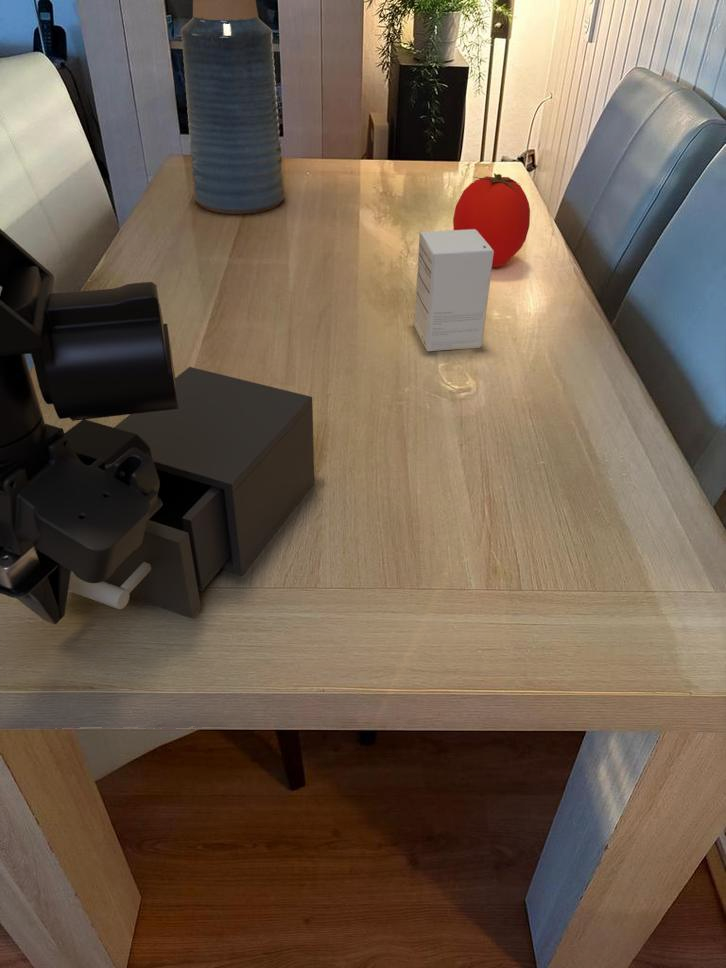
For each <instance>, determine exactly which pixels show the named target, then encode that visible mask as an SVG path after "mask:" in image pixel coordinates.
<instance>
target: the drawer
mask: <svg viewBox="0 0 726 968" xmlns="http://www.w3.org/2000/svg"><path fill="white" fill-rule="evenodd" d="M156 471H157V474H158V478H159V481H160V486H159V491H158V497H159V498H160V499H161V500H162V503H163V505H162V507H161V508H160V509H159V510H158V511H157V512H156V513H155V514H154V515H153V516H152V517H151V518H150V519H149V520H148V521H147V524H146V528H145V533H144V537H143V541H142V544H141V545H140V546H139V547H138V548H137V549H136V550H134V551H133V552H132V553H131V554H130V555H129V556H128V557H127V558H126V559H125V560H124V561H123V562H122V563H121V564H120V565H119V566H118V567H117V568H116V569H115V571H114V573H113V574H112V575H111V576H110V577H109V578H108V579H106V580H105V581H103V582H100V583H88V582H85V581H83V580H81V579H79V578H78V577H76V576H75V574H74V573H73V572H72V571H71V575H70V581H69V588H68V592H71V593H74V594H76V595H78V596H82V597H85V598H86V599H90V600H93V601H95V602H97V603H101V604H103V605H106V606H109V607H112V608H114V609H117V610H122V609H124V608H125V607H126V606H127V605H128V603H129V601H130V597H131V598H133V599H136V600H139V601H142V602H145V603H147V604H150V605H153V606H156V607H158V608H161V609H164V610H166V611H169V612H172V613H175V614H177V615H181V616H183V617H186V618H189V619H191V620H193V619H194V618H195V617H196V615H198V613H199V612H200V610H201V609H202V607H201V600H200V594H199V591H200V592H203V591H204V590H205V589H206V587H207V586H208V585H209V584H210V582H211V581H212V580H213V579H214V577H215V576H216V575H217V574H218V573H219V571H220V570H222V569H221V568H222V566H223V565H224V564H225V563H226V561H227V560H228V559H229V558H230V556H231V555H232V552H231V544H230V536H229V527H228V519H227V511H226V502H225V494H224V489H220V488H217V487H214V486H210V485H207V484H203V483H200V482H197V481H193V480H190V479H187V478H183V477H180V476H177V475H173V474H170V473H167V472H163V471H160V470H156Z"/></svg>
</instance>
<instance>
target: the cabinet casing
mask: <svg viewBox="0 0 726 968" xmlns="http://www.w3.org/2000/svg"><path fill="white" fill-rule="evenodd" d="M175 381H176V388H177V396H178V405H179V409H172V410H164V411H155V412H146V413H137V414H129V415H126V417H125V418H123V419H122V420H121V421H120V422H119V423H117V424H116V425H115V426H113V428H117V429H120V430H124V431H127V432H131V433H134V434H137V435H139V436H141V437H142V438H143V439H144V441H145V442H146V443H147V444H148V445H149V447H150V450H151V455H152V458H153V461H154V465H155V468H156V470H160V471H163V472H167V473H170V474H173V475H177V476H180V477H183V478H187V479H190V480H193V481H197V482H200V483H203V484H207V485H210V486H214V487H217V488H220V489H224V494H225V502H226V511H227V519H228V527H229V536H230V544H231V552H232V555H231V556H230V558H229V559H228V560H227V561H226V563H225V564H224V565H223V566H222V568H221V569H220V570H222V571H226V572H229V573H232V574H234V575H237V576H240V577H242V576H244V574H245V573H246V572H247V571H248V569H250V567H251V565H252V564H253V563H254V561H255V560H256V559H257V558H258V556H259V555H260V553H262V551H263V550H264V549H265V547H266V546H267V545H268V543H270V541H271V540H272V538H273V537H274V536H275V535H276V533H277V532H278V530H280V528H281V527H282V526H283V524H284V523H285V521H286V520H287V519H288V518H289V516H290V515H291V514H292V513H293V511H294V510H295V509H296V508H297V506H298V505H299V504H300V502H301V501H302V500H303V499H304V497H305V496H306V495H307V493H308V492H309V491H310V489H311V488H312V487H313V486H314V484H315V456H314V454H315V453H314V451H315V450H314V415H313V414H314V412H313V411H314V410H313V409H314V408H313V407H314V406H313V396H310V395H306V394H302V393H298V392H294V391H290V390H286V389H282V388H278V387H274V386H270V385H265V384H261V383H257V382H253V381H249V380H245V379H240V378H238V377H233V376H230V375H224V374H221V373H217V372H212V371H209V370H204V369H201V368H195V367H193V366H189V367H187V368H186V369H185V370H183V371H182V372H181V373H180V374H178V375H177V376H175Z"/></svg>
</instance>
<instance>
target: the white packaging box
mask: <svg viewBox="0 0 726 968" xmlns="http://www.w3.org/2000/svg"><path fill="white" fill-rule="evenodd" d="M417 253H418V254H417V269H416V270H417V271H416V272H417V273H416V286H415V287H416V288H415V301H414V302H415V303H414V315H413V326H414V328H415V330H416V333H417V334H418V337H419V339H420V341H421V343H422V346H423V347H424V348H425V350H426V352H438V351H450V350H451V351H452V350H465V349H466V350H467V349H479V348H482V347H483V339H484V331H485V325H486V316H487V309H488V308H487V307H488V301H489V293H490V284H491V277H492V269H493V267H492V262H493V255H494V251H493V250H492V248H491V247H490V246H489V244H488V243H487V242H486V241H485V240H484V238H483V237H482V236H481V235H480V234H479V233H478V231H477V230H476V229H469V230H454V229H453V230H449V229H448V230H431V231H429V230H428V231H419V238H418V252H417Z"/></svg>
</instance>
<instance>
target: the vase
mask: <svg viewBox="0 0 726 968" xmlns="http://www.w3.org/2000/svg"><path fill="white" fill-rule="evenodd" d="M180 37H181V41H182V42H181V47H182V55H183V57H182V60H183V64H184V65H183V70H184V79H185V80H184V85H185V93H186V95H185V97H186V107H187V121H188V135H189V139H188V141H189V146H190V147H189V154H190V156H191V157H190V166H191V169H192V170H191V179H192V182H193V183H192V190H193V198H194V200H195V202H196V203H197V204H198V205H199V206H200V207H201V208H203V209H205V210H207V211H210V212H213V213H218V214H225V215H249V214H251V215H253V214H258V213H263V212H267V211H269V210H272V209H275V208H276V207H278V206H279V205H280V204H281V202H282V201H283V200H284V199H285V194H286V193H285V183H284V171H283V156H282V147H281V143H282V141H281V140H282V139H281V136H280V133H281V132H280V122H279V120H280V119H279V115H278V114H279V109H278V106H279V105H278V95H277V86H276V85H277V81H276V73H275V72H276V71H275V70H276V67H275V58H274V44H273V39H274V37H273V30H272V29H271V28H270V27H269V26H268V25H267V24H266V23H265V22H263V20H262V19H260V18H259V12H258V6H257V1H256V0H192V18H190V20H189V21H188V22H187V23H185V25H183V26H182V28H181V29H180Z"/></svg>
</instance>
